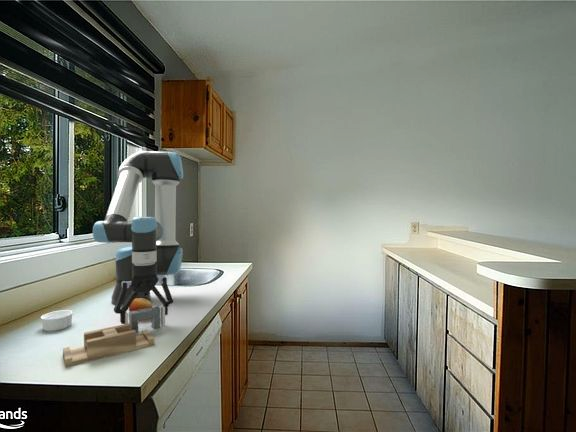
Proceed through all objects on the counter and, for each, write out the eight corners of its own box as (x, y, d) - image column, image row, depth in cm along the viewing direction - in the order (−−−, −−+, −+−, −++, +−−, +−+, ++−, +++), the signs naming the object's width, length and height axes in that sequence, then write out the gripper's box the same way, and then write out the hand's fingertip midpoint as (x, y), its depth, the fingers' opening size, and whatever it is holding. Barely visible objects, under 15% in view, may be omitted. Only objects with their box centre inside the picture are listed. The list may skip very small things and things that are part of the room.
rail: (62, 355, 90) (62, 336, 90) (146, 335, 104) (146, 319, 104) (65, 367, 84) (64, 347, 84) (154, 344, 97) (154, 327, 97)
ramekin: (52, 333, 105) (52, 320, 105) (34, 329, 108) (34, 316, 108) (79, 324, 113) (78, 311, 113) (61, 320, 116) (61, 308, 116)
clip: (129, 331, 107) (129, 311, 107) (157, 324, 113) (157, 306, 113) (131, 334, 105) (131, 314, 105) (160, 327, 111) (160, 308, 110)
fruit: (124, 311, 122) (136, 292, 123) (143, 320, 125) (155, 301, 126) (122, 318, 114) (135, 298, 116) (143, 327, 117) (156, 307, 119)
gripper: (106, 269, 98) (107, 341, 99) (183, 261, 112) (183, 324, 113) (102, 265, 104) (103, 333, 105) (175, 258, 118) (175, 318, 119)
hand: (145, 328), depth 109 cm, fingers open, 11 cm apart
